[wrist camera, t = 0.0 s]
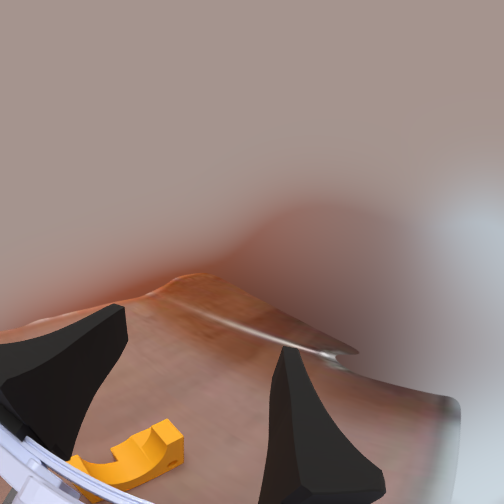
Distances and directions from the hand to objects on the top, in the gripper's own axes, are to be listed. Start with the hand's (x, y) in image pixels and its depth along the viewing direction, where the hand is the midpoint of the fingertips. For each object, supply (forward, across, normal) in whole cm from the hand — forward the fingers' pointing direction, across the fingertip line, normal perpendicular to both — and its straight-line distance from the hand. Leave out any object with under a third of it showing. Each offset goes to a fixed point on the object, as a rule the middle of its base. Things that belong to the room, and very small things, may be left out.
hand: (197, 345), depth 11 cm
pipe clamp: (-1, +7, +22) cm, 23 cm away
